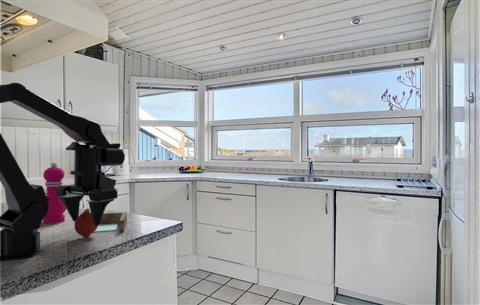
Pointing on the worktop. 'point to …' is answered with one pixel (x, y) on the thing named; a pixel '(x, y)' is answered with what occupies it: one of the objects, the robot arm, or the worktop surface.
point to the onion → (85, 224)
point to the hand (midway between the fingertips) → (86, 223)
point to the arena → (115, 219)
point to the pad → (106, 227)
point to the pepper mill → (54, 195)
